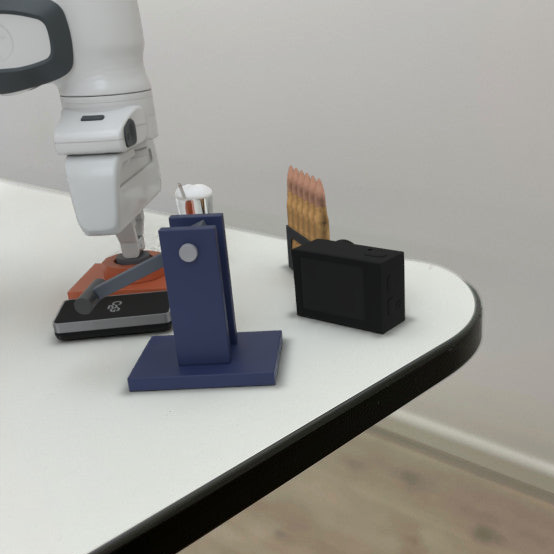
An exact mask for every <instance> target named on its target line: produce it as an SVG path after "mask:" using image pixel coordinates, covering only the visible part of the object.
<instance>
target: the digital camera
mask: <svg viewBox="0 0 554 554" xmlns="http://www.w3.org/2000/svg"><path fill="white" fill-rule="evenodd" d="M292 261H293V270H292V272H293V282H294V294H295V295H294V296H295V307H296V315H298V316H302V317H306V318H311V319H315V320H319V321H324V322H329V323H333V324H338V325H342V326H346V327H347V326H348V327H351V328H354V329H355V328H356V329H360V330H363V331H369V332H373V333H376V334H377V333H378V334H383V335H384V334H385V333H386V332H388V331H389V330H391V329H393V328H394V327H396V326H397V325H399V324H400V323H402V322H403V321H405V320H406V284H405V283H406V279H405V278H406V274H405V273H406V271H405V268H406V267H405V265H406V264H405V252H404V251H403V250H395V249H389V248H383V247H377V246H370V245H363V244H358V243H357V244H356V243H354V242H352V241H351V240H349V239H346V238H345V239H343V238H342V239H341V238H340V239H336V240H331V239H330V240H325V239H315V240H313V241H310V242H308V243H306V244H303V245H301V246H298V247H296V248H293V249H292Z"/></svg>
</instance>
